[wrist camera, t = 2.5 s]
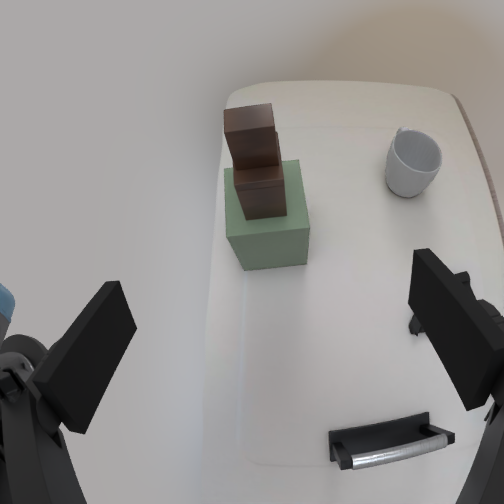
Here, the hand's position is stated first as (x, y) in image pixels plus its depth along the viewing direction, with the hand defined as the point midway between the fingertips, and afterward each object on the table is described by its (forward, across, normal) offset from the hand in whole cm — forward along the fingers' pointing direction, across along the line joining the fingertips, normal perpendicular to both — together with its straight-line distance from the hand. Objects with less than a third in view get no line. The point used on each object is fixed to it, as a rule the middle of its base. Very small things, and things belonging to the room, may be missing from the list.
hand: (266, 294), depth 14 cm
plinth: (+38, -1, -13) cm, 40 cm away
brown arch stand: (+28, -1, -3) cm, 28 cm away
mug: (+45, +24, -6) cm, 51 cm away
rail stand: (+14, +13, -37) cm, 41 cm away
